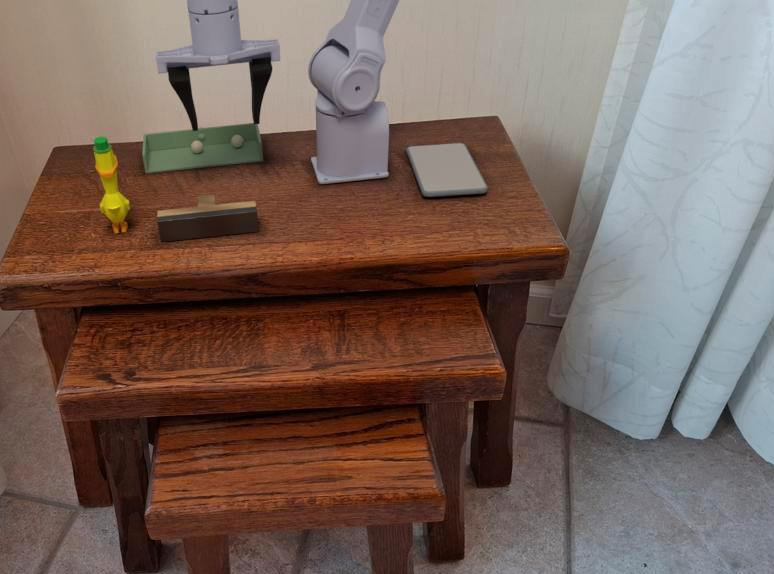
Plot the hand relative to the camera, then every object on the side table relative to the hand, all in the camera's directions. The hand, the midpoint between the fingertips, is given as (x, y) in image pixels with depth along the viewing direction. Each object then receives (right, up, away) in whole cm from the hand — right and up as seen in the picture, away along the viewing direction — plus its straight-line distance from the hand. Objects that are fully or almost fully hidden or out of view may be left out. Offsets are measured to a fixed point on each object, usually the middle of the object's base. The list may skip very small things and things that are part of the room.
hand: (225, 124), depth 96 cm
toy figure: (-13, -13, +1) cm, 19 cm away
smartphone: (+29, -4, +7) cm, 30 cm away
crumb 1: (-5, +2, +15) cm, 16 cm away
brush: (-2, -14, -4) cm, 14 cm away
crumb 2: (+1, +3, +16) cm, 16 cm away
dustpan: (-4, +1, +16) cm, 17 cm away
